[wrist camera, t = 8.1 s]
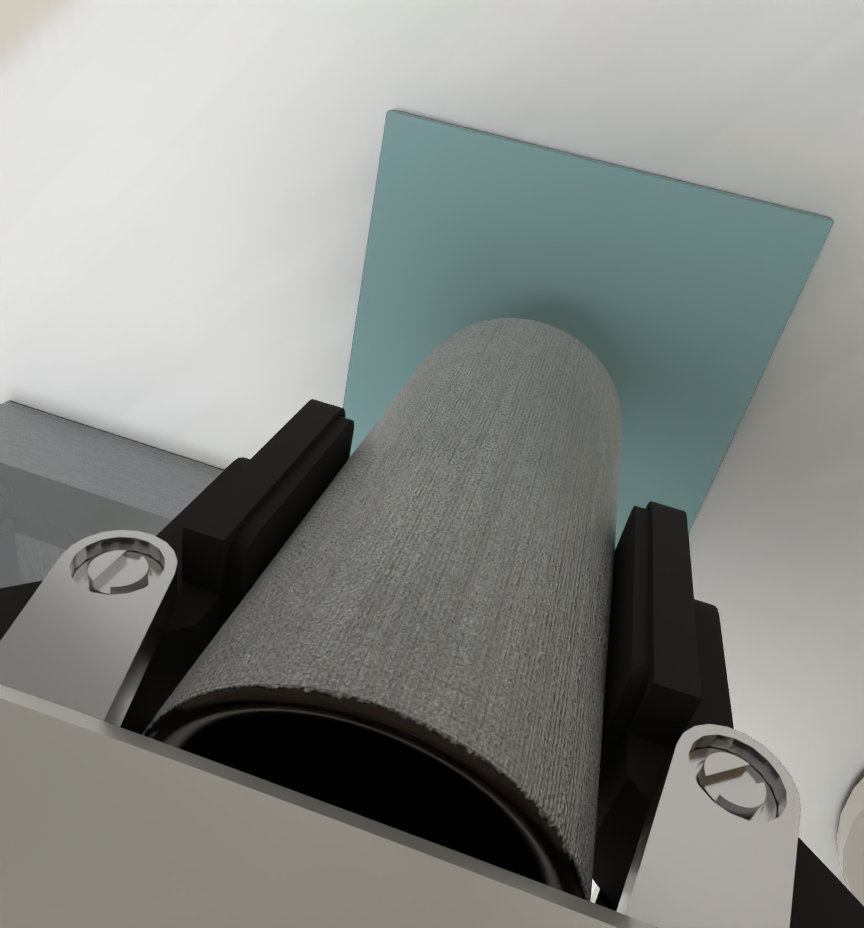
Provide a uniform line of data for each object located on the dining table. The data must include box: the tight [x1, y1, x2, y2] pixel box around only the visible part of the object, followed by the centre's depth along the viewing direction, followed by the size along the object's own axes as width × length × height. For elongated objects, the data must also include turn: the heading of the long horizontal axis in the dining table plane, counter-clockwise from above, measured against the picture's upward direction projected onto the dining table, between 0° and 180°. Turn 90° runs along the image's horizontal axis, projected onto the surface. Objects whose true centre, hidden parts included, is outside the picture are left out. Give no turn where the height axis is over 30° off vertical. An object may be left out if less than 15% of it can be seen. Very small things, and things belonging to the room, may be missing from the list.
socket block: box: [0, 401, 224, 588], centre depth 25 cm, size 11×11×3 cm
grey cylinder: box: [142, 318, 623, 901], centre depth 11 cm, size 4×4×10 cm
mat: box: [343, 110, 834, 549], centre depth 19 cm, size 10×10×1 cm
